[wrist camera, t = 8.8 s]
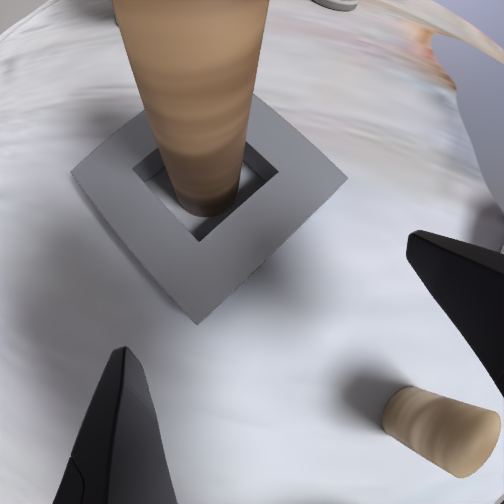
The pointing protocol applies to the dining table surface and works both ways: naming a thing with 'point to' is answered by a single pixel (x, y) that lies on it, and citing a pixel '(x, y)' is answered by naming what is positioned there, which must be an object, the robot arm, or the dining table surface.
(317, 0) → the travel mug
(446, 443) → the short beech pin
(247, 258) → the socket board
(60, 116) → the dining table surface
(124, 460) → the robot arm
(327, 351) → the dining table surface
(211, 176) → the walnut pin
